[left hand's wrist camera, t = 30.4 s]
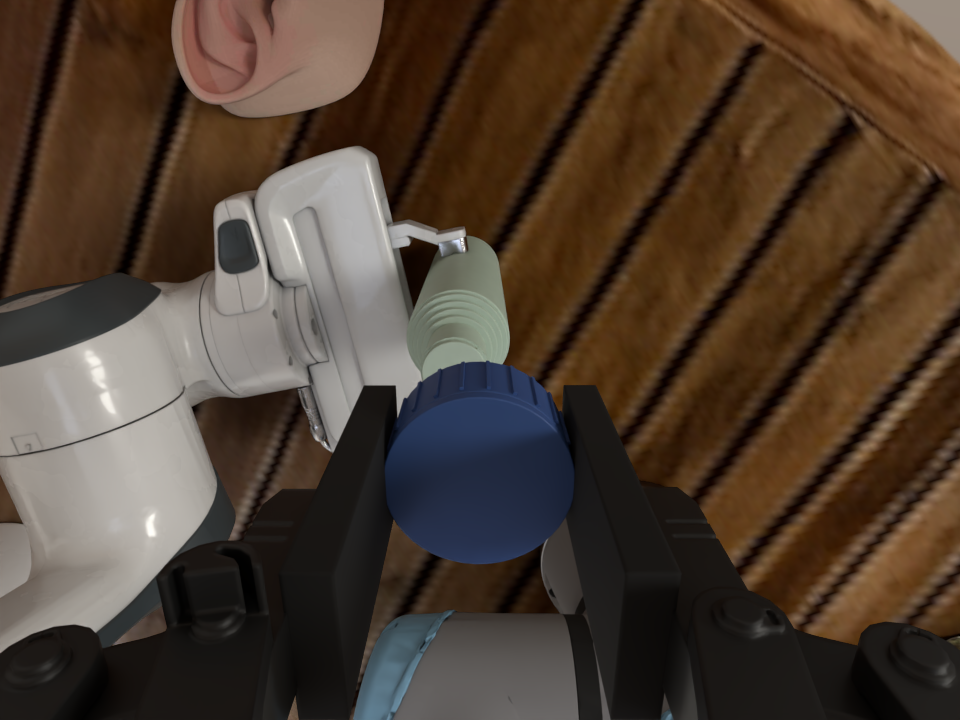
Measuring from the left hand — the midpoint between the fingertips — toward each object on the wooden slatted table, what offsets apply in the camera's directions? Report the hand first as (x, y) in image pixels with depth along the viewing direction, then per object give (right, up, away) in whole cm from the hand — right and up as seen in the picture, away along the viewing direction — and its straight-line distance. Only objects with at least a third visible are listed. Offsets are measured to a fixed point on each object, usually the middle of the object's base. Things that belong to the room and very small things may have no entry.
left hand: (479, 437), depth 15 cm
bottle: (-1, +9, +32) cm, 33 cm away
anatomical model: (-13, +25, +26) cm, 38 cm away
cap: (0, -1, -2) cm, 2 cm away
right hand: (0, +7, +26) cm, 27 cm away
